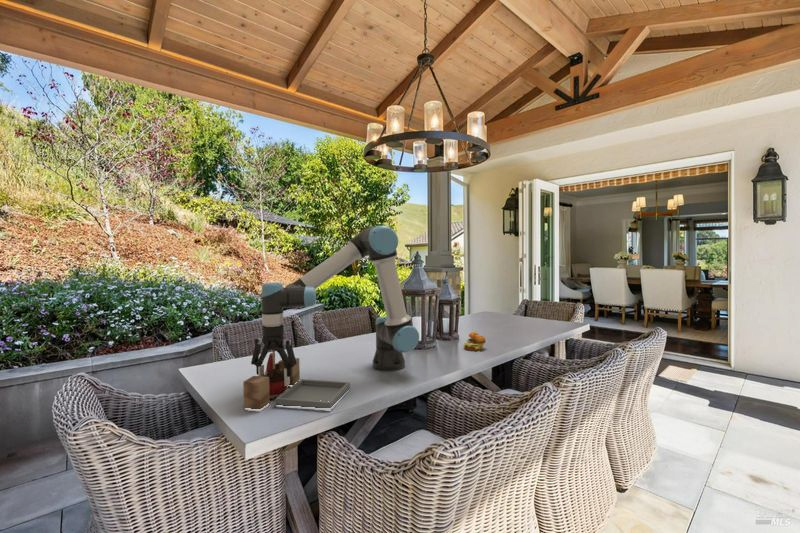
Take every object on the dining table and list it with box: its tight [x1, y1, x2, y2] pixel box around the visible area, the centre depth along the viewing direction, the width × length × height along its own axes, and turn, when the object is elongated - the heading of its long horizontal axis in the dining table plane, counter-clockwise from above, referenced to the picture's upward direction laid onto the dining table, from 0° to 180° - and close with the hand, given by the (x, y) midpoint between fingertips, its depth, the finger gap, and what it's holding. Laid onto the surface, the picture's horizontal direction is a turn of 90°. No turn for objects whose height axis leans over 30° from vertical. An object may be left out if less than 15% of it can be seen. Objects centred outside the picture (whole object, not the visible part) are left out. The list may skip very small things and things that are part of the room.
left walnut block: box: [242, 375, 271, 409], centre depth 131 cm, size 6×6×10 cm
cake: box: [263, 350, 289, 399], centre depth 142 cm, size 11×9×18 cm
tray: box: [274, 378, 351, 408], centre depth 139 cm, size 20×20×3 cm
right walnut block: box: [277, 357, 301, 385], centre depth 153 cm, size 6×6×10 cm
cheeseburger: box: [463, 331, 487, 352], centre depth 205 cm, size 10×11×10 cm
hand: (274, 384), depth 142 cm, fingers closed on cake, 10 cm apart
